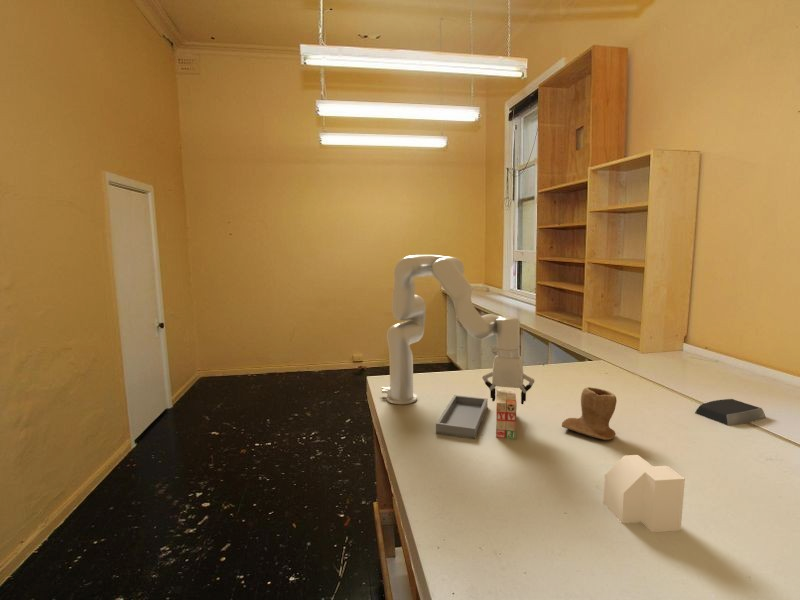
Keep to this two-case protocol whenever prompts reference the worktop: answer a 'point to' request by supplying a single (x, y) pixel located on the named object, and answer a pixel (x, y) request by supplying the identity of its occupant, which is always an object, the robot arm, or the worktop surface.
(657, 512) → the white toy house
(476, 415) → the tray
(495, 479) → the worktop surface
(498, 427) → the stack of blocks
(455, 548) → the worktop surface
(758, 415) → the external hard drive
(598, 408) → the brown suede boot
